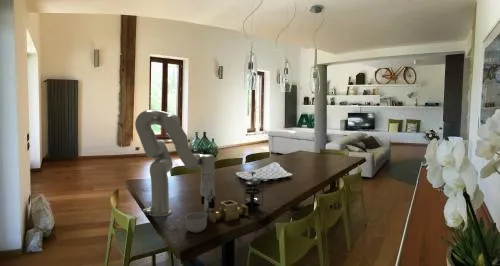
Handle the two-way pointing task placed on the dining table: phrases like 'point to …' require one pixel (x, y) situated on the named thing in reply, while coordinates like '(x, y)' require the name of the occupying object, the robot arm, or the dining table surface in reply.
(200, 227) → the teacup
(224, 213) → the valve body
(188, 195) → the dining table surface
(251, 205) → the french press
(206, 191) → the robot arm
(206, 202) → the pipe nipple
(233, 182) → the dining table surface
